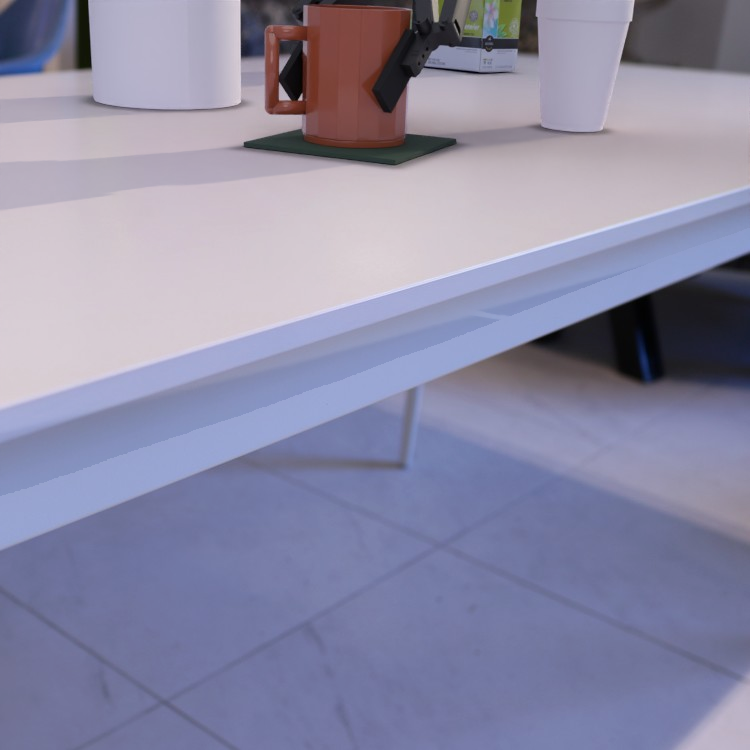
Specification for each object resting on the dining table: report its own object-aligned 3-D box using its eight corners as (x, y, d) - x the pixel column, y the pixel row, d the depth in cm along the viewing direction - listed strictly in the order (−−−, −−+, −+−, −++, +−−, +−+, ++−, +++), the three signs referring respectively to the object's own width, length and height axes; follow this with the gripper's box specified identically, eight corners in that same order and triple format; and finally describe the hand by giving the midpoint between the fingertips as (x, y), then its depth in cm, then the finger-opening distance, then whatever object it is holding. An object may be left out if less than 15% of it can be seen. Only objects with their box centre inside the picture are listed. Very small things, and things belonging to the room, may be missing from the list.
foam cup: (544, 133, 103) (557, -7, 99) (513, 120, 112) (524, -10, 107) (633, 134, 105) (651, -3, 101) (596, 121, 114) (611, -6, 109)
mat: (456, 143, 96) (456, 138, 95) (395, 164, 84) (395, 159, 83) (319, 128, 101) (319, 124, 101) (243, 146, 89) (243, 142, 89)
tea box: (518, 71, 168) (526, -27, 163) (479, 74, 161) (486, -29, 156) (446, 63, 178) (451, -30, 173) (406, 65, 171) (411, -32, 166)
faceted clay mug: (389, 132, 97) (394, 6, 93) (418, 148, 89) (425, 11, 85) (256, 132, 94) (255, 2, 90) (274, 149, 86) (274, 6, 82)
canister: (186, 89, 127) (181, -92, 120) (270, 104, 116) (271, -93, 109) (65, 95, 116) (53, -103, 109) (146, 113, 106) (138, -106, 98)
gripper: (564, -62, 92) (459, 140, 85) (360, -67, 103) (254, 111, 97) (543, -135, 86) (428, 76, 79) (330, -132, 97) (214, 53, 91)
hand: (333, 95), depth 88 cm, fingers closed on faceted clay mug, 9 cm apart
